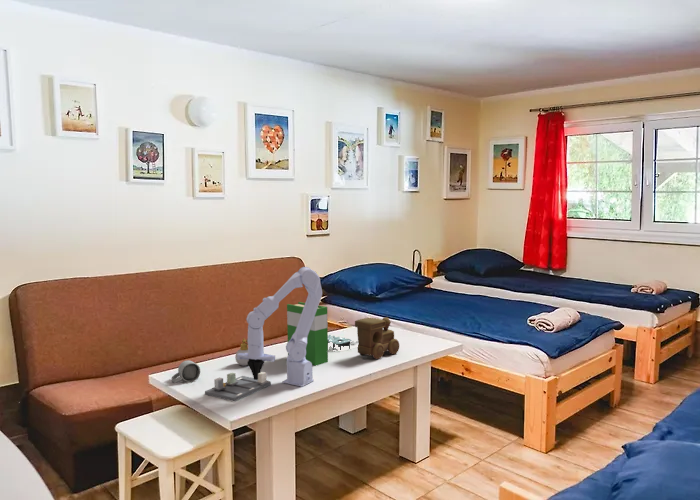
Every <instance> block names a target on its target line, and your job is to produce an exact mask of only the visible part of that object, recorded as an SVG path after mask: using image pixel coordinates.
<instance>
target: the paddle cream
mask: <svg viewBox="0 0 700 500" xmlns="http://www.w3.org/2000/svg"><path fill="white" fill-rule="evenodd" d="M268 382H269V380H267V372H265V371H261V372H260V373H258V381H256V383H257V384H262V385H264V384H266V383H268Z"/></svg>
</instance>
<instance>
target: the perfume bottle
mask: <svg viewBox="0 0 700 500" xmlns="http://www.w3.org/2000/svg"><path fill="white" fill-rule="evenodd" d="M239 353H248V338H245V337H243V338H242V343H241V344H240V348H239V349H237V351H236V353H235V362H236V363H237V364H238V365H240V366H243V367H245V366H248V364H247V362H248V361H249V360H246V359H240V360H238V359H237V354H239Z"/></svg>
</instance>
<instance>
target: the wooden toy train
mask: <svg viewBox="0 0 700 500" xmlns="http://www.w3.org/2000/svg"><path fill="white" fill-rule="evenodd" d="M391 323H392V322H391V320H390V319H389V317H383V318H382V319H380V318H376V317H365V318H360V319H357V320H355V321H354V327H355V328H357V331H356V333H357V343H358V344H357V345H358V347H357V353H358V355H360V356H372V357H373V358H374V359H375V360H380V359H382V357H383V356H384V354H385V352H387V351H388V353H389V354H390V355H395V354H397V353H398V352H399V350H400V342H399V341H398V339H396V338H395V331H394V330H392V329H389V328H390V325H391Z"/></svg>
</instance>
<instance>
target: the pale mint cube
mask: <svg viewBox="0 0 700 500" xmlns="http://www.w3.org/2000/svg"><path fill="white" fill-rule="evenodd" d="M236 378H237V377H236V373H235V372H230V373H228V374H226V382H224V383H225V384H227V385H231V386H233V385H235V384H237V383H238V382H236Z"/></svg>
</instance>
